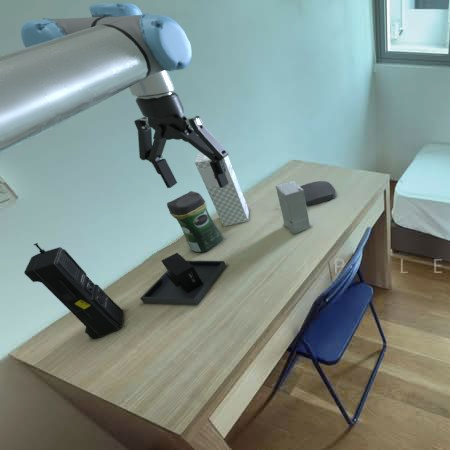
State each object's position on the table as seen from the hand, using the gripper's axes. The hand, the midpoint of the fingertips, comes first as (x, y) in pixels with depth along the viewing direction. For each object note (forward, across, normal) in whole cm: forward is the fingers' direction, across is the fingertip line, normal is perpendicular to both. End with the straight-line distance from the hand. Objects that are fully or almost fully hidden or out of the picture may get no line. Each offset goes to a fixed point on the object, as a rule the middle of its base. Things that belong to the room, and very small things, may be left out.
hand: (198, 185), depth 76 cm
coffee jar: (+29, +17, -12) cm, 36 cm away
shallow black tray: (+29, +12, +6) cm, 32 cm away
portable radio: (+29, +23, +21) cm, 42 cm away
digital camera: (+28, +12, +6) cm, 32 cm away
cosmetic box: (+29, -11, -23) cm, 39 cm away
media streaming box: (+29, -11, -45) cm, 55 cm away
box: (+29, +15, -28) cm, 43 cm away
